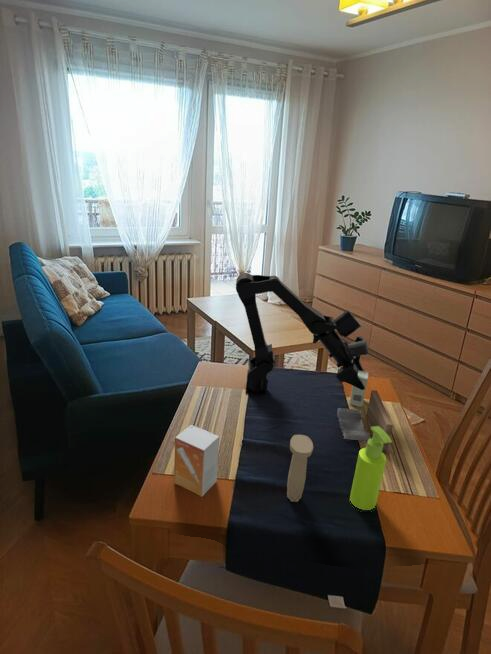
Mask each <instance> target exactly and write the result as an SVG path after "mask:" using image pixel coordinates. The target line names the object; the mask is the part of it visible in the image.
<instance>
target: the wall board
mask: <svg viewBox="0 0 491 654" xmlns="http://www.w3.org/2000/svg"><path fill="white" fill-rule="evenodd" d="M368 401H369V402H368V406H367V411H366V418H367V421H368V424H369V426H370V428H371V427H374V426H379V427H380V428H382V429H383V430H384V431H385V432H386V433H387V435H388V436H389V437H390V438H391V434H392V431H393V426H394V424H393V422H392V420H391V418H390V415H389V414H388V412H387V409H386V407H385V405H384V403H383V401H382V398H381V397H380V394H379V392H378V390H373V389H372V390H371V392H370V397H369V400H368ZM371 431H372V430H371ZM373 433H374V432H373V431H372V434H373ZM382 453H383V454H384V453H385V454H393V453H394V451H393V448H392V445H391V443H383V450H382Z"/></svg>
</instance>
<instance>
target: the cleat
mask: <svg viewBox="0 0 491 654" xmlns="http://www.w3.org/2000/svg"><path fill="white" fill-rule="evenodd" d="M336 415H337V418H339V419H338V422H340V423H339V426H340V425H341V426H340V430H341V429H342V430H341V433H343V434H342V437H343V436H344V437H343V440H344V439H349V440H348V441H351V440H358V441H357V442H362V441H365V443H367V441H368V439H370V438H371V433H370V432H369V431H366V428H365V426H364V422H363V420H362V416H363V412H362V410H361V409H357V408H356V409H354V408H343V407H342V408H341V407H337V412H336ZM350 439H351V440H350Z"/></svg>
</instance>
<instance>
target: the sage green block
mask: <svg viewBox="0 0 491 654" xmlns="http://www.w3.org/2000/svg"><path fill="white" fill-rule="evenodd" d="M358 376H359V378H360V379H361V381H362V383H363V385H364V387H365V389H364V390H361V389H359V388H357V387H355V386H353V385H352V387H351V393H350V398H349V405H350V406H356V407H361V408H362V407H363V405H364V400H365V394H366V389H367V384H368V378H369V371H359V370H358Z"/></svg>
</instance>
